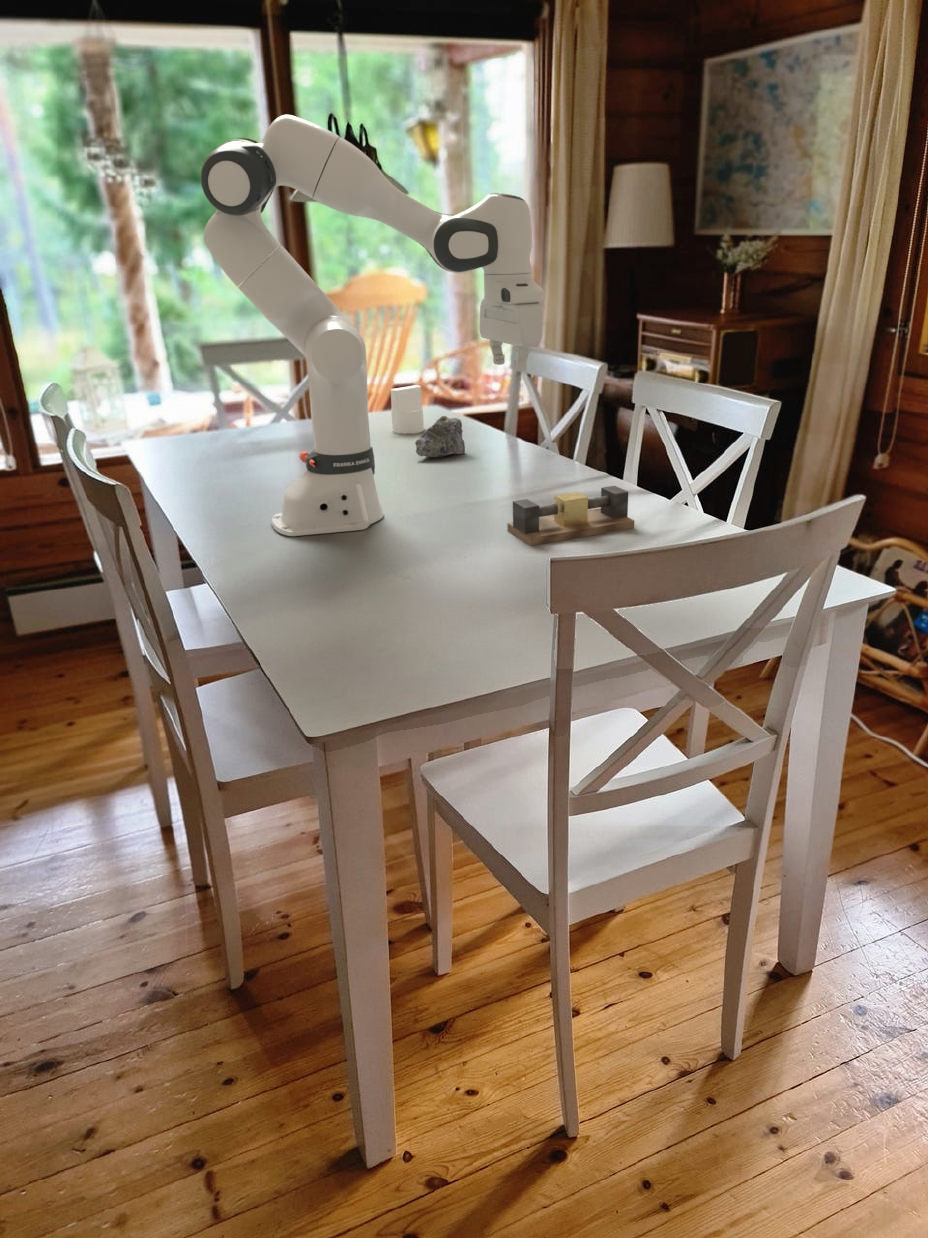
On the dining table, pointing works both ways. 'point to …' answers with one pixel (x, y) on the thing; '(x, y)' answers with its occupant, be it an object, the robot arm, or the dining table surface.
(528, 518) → the shaft stand
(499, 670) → the dining table surface
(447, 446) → the mineral rock
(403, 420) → the cylinder with rectangular tab
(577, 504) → the yellow cube
